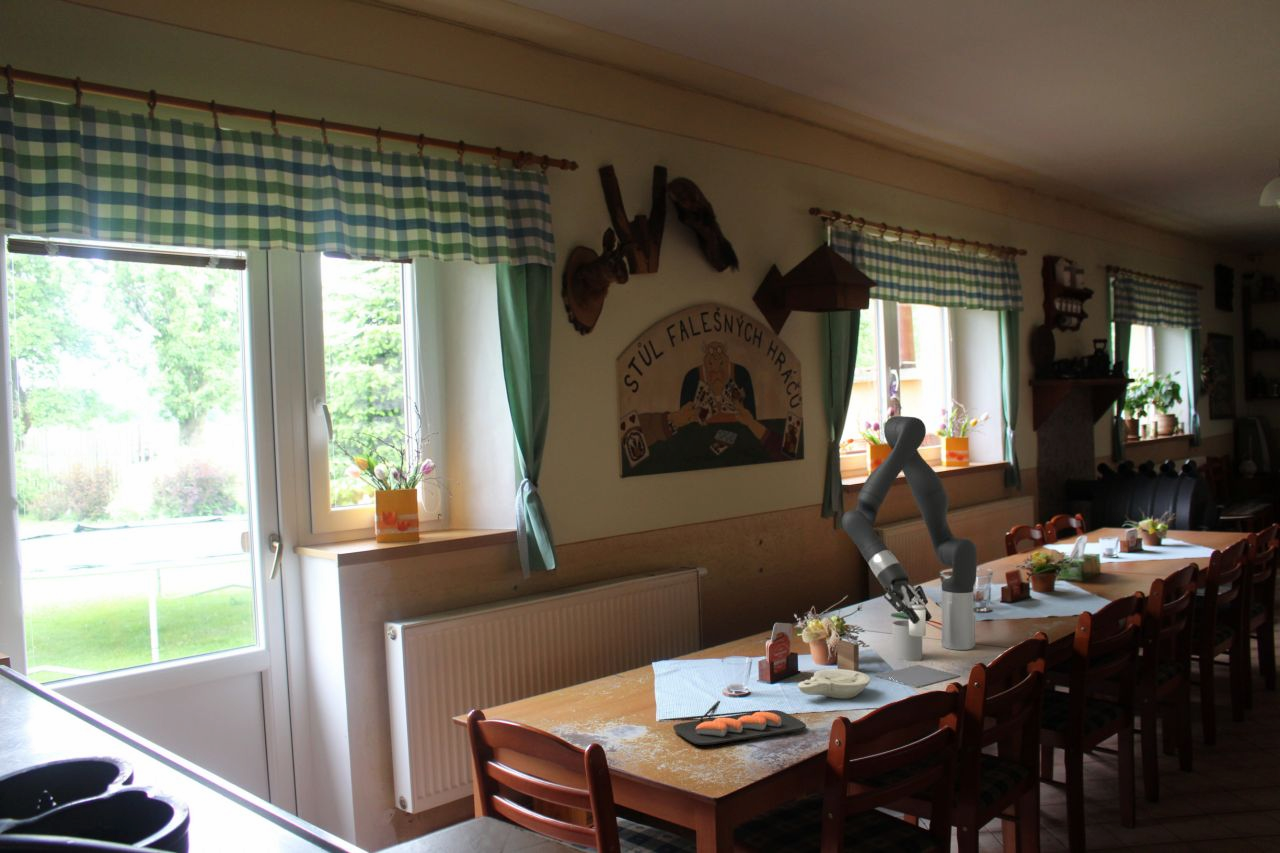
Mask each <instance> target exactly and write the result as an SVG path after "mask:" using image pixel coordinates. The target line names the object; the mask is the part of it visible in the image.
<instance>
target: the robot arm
mask: <svg viewBox="0 0 1280 853" xmlns="http://www.w3.org/2000/svg"><path fill="white" fill-rule="evenodd" d="M926 429H927V428H926V425H925V423H924V422H923V420H922V419H920V418H918V417H914V416H905V415H904V416H903V415H902V416H901V415H895V416H891V417H889V418H888V419H887V420H886V421H885V424H884V427H883V433H884V437H885V441H886V442H887V444H888V446H889V448H890V449H891V452H889V454H888V455H887V456H886V458H885V459H884V460H883V461H882V462H881V463H880V464H879V465H878V466H876V468H875V469H874V470H873V471H872V472H871V473H870V475H868V477H867V478H866V479H865V481H864V484H863V486H862V488H861V490H860V491H859V493H858V496H857V499H856V500H857V501H856V502H857V506H856V508H855V509H851V510H848V511H846V512H845V513H843V514H844V515H843V516H842V519H841V525H842V528H843V529H844V531H845V533H846V534H847V535H848V536H849V538H850V539H851V540H852V542H854V544H855V545H856V547H857V548H858V550H859V552H860V554H861V555H862V557H863V558H864V560H865V561H866V562H867V564H868V565H869V567H870V569H871V571H872V573H873V574H874V576H875V578H876V579H877V580H878V582H879V583H880V585H881V586H882V587H883V589H884V591H886V593H885V594H884V596H883V598H884V599H885V601H887V602H888V603H889V605H891V606H892V607H893V609H895V610H896V611H897V612H898V613H901V612H902V613H903V614H905V615H906V616H907V617H908V620H909V619H910V620H911V621H912V623H913V624H916V623H917V622H918V621H919V620H920V619H919V617H918V616H917V614H916V613H915V611H914V610H913V608H911V605H910V604H923V605H925V609H926V623H927V622H929V621H930V620H931V619H932V614H931V613H930V612H929V610H928V608H927V607H926V605H927V604H928V603H929V600H928V597H927V596H926V594H925V591H924V589H923V588H922V586H921V585H917V586H913V584H912V583H911V582H910V581H909V574H908V573H907V572H906V570H905V569H904V568H903V566H902V564H901V563H900V561H898V559H897V558H896V556H895V555H894V554H893V553H892V552H891V551H890V549H889V548H888V546H887V545H886V543H885V542H884V541H883V540H882V539H881V537H880V536H879V535H878V534H877V533H876V531H875V529H874V526H875V522H876V520H877V517H878V514H879V510H880V507H881V506H882V504H883V502H884V500H885V499H886V496H887V494H888V493H889V491H890V489H891V487H892V485H894V482H895V481H896V479H897V477H898V476H899V475H900V474H901V472H902V474H904V477H905V480H906V481H907V484H908V486H909V488H910V491H911V493H912V496H913V499H914V500H915V503H916V505H917V507H918V509H919V511H920V514H921V516H922V519H923V521H924V524H925V526H926V528H927V531H928V534H929V538H930V541H931V543H932V548H933V551H934V553H935V557H936V558H937V561H938V562H939V563H940V564H941V565H943V566H946V567H949V568H952V569H951V570H952V572H951V576H950V577H948V578H945V579H943V580H942V582H941V647H942V648H946V649H949V650H955V651H956V650H957V651H966V650H967V651H968V650H972V649H974V647H975V646H976V615H975V614H974V613H975V612H974V609H975V608H974V607H975V606H974V588H975V587H974V586H975V584H976V581H977V570H978V569H977V568H978V567H977V566H978V550H977V547H976V544H975V543H974V542H973V541H972V540H971V539H968V538H963V537H958V536H957V537H955V536H954V535H953V532H952V530H951V528H950V526H949V524H948V521H947V520H948V519H947V514H948V508H949V496H948V494H947V491H946V489H945V486H944V484H943V481H942V480H941V478H940V477H939V475H938V474H937V472H936V471H935V470H934V469H933V468H932V466H930V465H929V463H927V461H926V460H925V459H924V458H923V456H922V455H921V454H920V452H919V450H918V449H919V448H920V446H921V445H922V444H923V442H924V440H925V438H926V433H927V430H926Z"/></svg>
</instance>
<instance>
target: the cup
mask: <svg viewBox="0 0 1280 853" xmlns="http://www.w3.org/2000/svg"><path fill="white" fill-rule="evenodd" d="M893 657H894V658H893ZM892 658H893V659H895V660H897V659H899V660H898V661H901V660H906V661H905V662H917V661H916V660H918V661H921V660H923V636H911V635H909V619H908V620H906V619H905V620H903V619H900V620H894V621H892Z"/></svg>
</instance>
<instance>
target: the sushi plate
mask: <svg viewBox="0 0 1280 853" xmlns="http://www.w3.org/2000/svg"><path fill="white" fill-rule="evenodd" d="M720 702H721V700H717V701H716V702H715V703H714V704H713V705H712V706H711V707H710V708H709V710H707V711H706V713H704V714H703V715H694V716H683V717H673V718H671V717H670V718H663V719H658V721H659V722H660V721H662V722H663V721H664V722H665V721H687V722H679V723H677V724H674V725H673V727H672V728H673V730H674V732H676V734H679V735H680V736H681V737H682V738H684V739H685V740H687V741H688V742H690V743H692V744H694V745H695V744H696V745H700V746H707V745H715V744H722V743H728V742H735V741H742V740H746V739H753V738H758V737H766V736H771V735H772V736H773V735H777V734H783V733H790V732H796V731H802V730H805V729H806V728H807V724H806V723H805V722H804V721H802V720H800V719H799V718H796V717H794V716H792V715H791V714H789V713H787V712H784V711H782V710H777V709H771V710H749V711H748V710H747V711H738V712H737V711H736V712H727V713H718V714H709V713H711V712H712V711H713V710H715V708H717V706H718V705H719V704H720ZM712 717H713V718H712ZM694 719H695V720H694ZM696 719H698V720H696ZM688 720H692V721H688ZM693 720H694V721H693Z"/></svg>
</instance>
